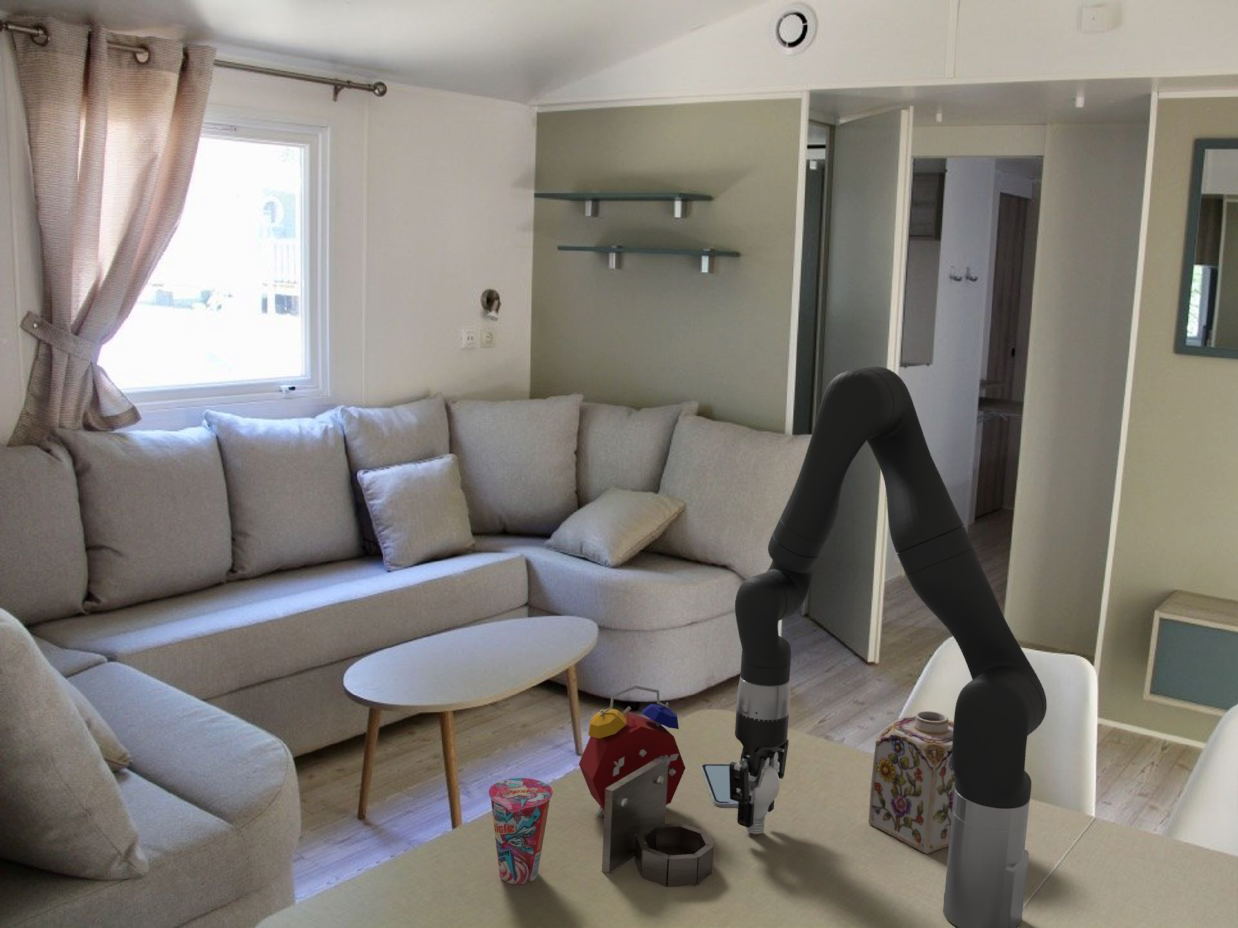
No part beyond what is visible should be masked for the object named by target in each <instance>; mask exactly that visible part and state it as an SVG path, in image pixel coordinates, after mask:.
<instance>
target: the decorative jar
mask: <svg viewBox="0 0 1238 928" xmlns="http://www.w3.org/2000/svg"><path fill="white" fill-rule="evenodd" d="M953 725H954V721H952V720H950V719H949V717H948V716H946V715H945V714H943V713H942V712H937V711H931V710H930V711H929V710H927V711H925V710H924V711H919V712H916V714H914V715H909V716H905V717H900V718H897V719H895V720H893V721H892V722H890V724H889V725H888V726H887V728H885V729H884V730H883V732H882V733H881V734H879V736H878V737H876V740H875V741H874V742H875V745H874V753H873V761H872V770H871V771H872V772H871V777H870V778H871V779H870V791H869V792H870V795H869V807H868V824H869V825H871V826H873V827H875V828H877V829H879V830H881V831H883V832H884V833H886V834H888V835H890V836H891V837H894V838H895V839H897V840H899V841H901V842H903V843H905V844H907V845H908V846H910V847H912V848H914V849H915V850H918V851H919V852H921V853H923V854H926V855H928V854H931V853H933V852H936V851H939V850H942V849H944V848H947V847H949V841H950V830H951V819H952V809H953V799H954V788H955V774H954V771H953V767H952V744H953Z"/></svg>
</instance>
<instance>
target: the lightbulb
mask: <svg viewBox="0 0 1238 928" xmlns="http://www.w3.org/2000/svg"><path fill="white" fill-rule="evenodd" d="M756 778H757V777H754V776H751V775H749V780H750V781H755V780H756ZM780 788H781V779H780V778H779V776H778V774H777V772H776V770H775V769H774V768H773V767H772V766H771V765H768V768H767V769H766V771H765V774H764V777H763V779H762V782H761V786H760V787H759V788H757V789H756V791H755V800H754V817H753V825H752V826H751V827H749V828H748V827H745V830H746V832H747V833H750V834H751V835H753V836H757V835H760V834H762V833H764V831H765V822H766V815H767V814H768V813H769V812H768V808H769V806H770V804H771V803H772V802H773V800H774V801H775V799H776V798H777V796H778V794H779V792H780ZM737 790H738V788H737ZM750 790H751V786H749V794H750Z"/></svg>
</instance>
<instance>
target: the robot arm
mask: <svg viewBox="0 0 1238 928" xmlns="http://www.w3.org/2000/svg"><path fill="white" fill-rule="evenodd" d="M866 442H867V444H868V446H869V447H870V449H871V451H872V454H873V455H874V458H875V460H876V462H877V464H878V466H879V469H880V471H881V474H882V477H883V481H884V486H885V493H886V507H887V510H886V511H887V519H888V520H887V521H888V528H889V535H890V538H891V541H892V546H893V547H894V550H895V552H896V555H897V557H898V560H899V562H900V564H901V566H902V570H903V572H904V574H905V575H906V578H907V580H908V581H909V583H910V585H911V587H912V590H914V592H915V593H916V595H917V596H918V597H919V599H920V600H921V601H922V603H923V604H924V605H925V606H926V607H927V608H928V609H929V611H931V613H933V615H934V616H935V617H936V618H937V619H938V620H940V622H941V623H942V624H943V626H945V627H946V629H947V630H948V631H949V633H950V634H951V635H952V636H953V638H954V640H955V642H956V644H957V646H958V647H959V649H960V652H961V655H963V658H964V660H965V663H966V666H967V668H968V670H969V674H970V676H971V680H970V681H969V682H968V683H967V684H966V685H965V686H964V687H962V689H961V690H960V692H959V694H958V696H957V698H956V699H957V700H956V702H955V708H954V713H953V714H954V715H953V722H954V725H953V744H952V767H953V771H954V774H955V788H954V799H953V809H952V819H951V830H950V841H949V846H948V852H947V854H948V855H947V865H946V875H945V884H944V893H943V909H942V912H943V914H944V917H945V918H946V919H947V921H948V922H950V923H951V924H952V925H954V926H955V927H957V928H1017V926H1019V924H1020V922H1021V921H1022V919H1023V911H1024V903H1025V901H1024V900H1025V893H1026V882H1027V875H1028V864H1029V855H1030V854H1029V853H1030V852H1029V851H1028V850H1026V849H1025V848H1026V839H1027V829H1028V820H1029V812H1030V811H1029V810H1030V801H1031V793H1032V779H1031V776H1030V775H1029V773H1028V772H1027V771H1026V769H1025V767H1026V757H1027V756H1026V755H1027V754H1026V753H1027V744H1028V737H1029V736H1030V734H1032V733H1033V732H1034V731H1036V730H1037V728H1039V727H1040V726H1041V724H1042V723H1043V721H1044V720H1045V716H1046V714H1047V709H1048V708H1047V696H1046V692H1045V689H1044V687H1043V685H1042V683H1041V680H1040V678H1039V676H1038V674H1037V673H1036V672H1035V670H1034V667H1032V664H1031V663H1030V661H1029V659H1028V658H1027V656H1026V654H1025V653H1024V651H1023V649H1022V647H1021V645H1020V644H1019V642H1018V641H1017V639H1016V637H1015V636H1014V633H1013V632H1012V630H1011V628H1010V625H1009V624H1008V622H1007V620H1006V618H1005V616H1004V614H1003V611H1002V610H1001V609H1002V608H1001V607H1000V605H999V603H998V600H997V598H996V595H995V593H994V591H993V588H992V586H991V584H990V582H989V580H988V577H987V575H986V573H985V571H984V569H983V567H982V564H981V562H980V559H979V557H978V554H977V552H976V549H975V547H974V545H973V542H972V540H971V539H970V536H969V534H968V532H967V530H966V527H965V525H964V523H963V521H962V519H961V517H960V515H959V513H958V511H957V509H956V507H955V505H954V502H953V500H952V498H951V496H950V494H949V491H948V489H947V486H946V485H945V482H944V481H943V477H942V476H941V474H940V472H939V469H938V468H937V466H936V463H935V461H934V459H933V457H932V454H931V452H930V449H929V446H928V444H927V441H926V438H925V435H924V432H923V429H922V426H921V423H920V419H919V417H918V414H917V411H916V408H915V405H914V402H913V398H912V396H911V393H910V391H909V389H908V386H907V385H906V383H905V382H904V381H903V379H902V378H901V376H899V375H898V374H897V373H896V372H894V371H893V370H891V369H889V368H887V367H881V366H869V367H862V368H853V369H850V370H846V371H844V372H841V373H839V374H837V375H836V376H834V378H832V380H830V382H829V383H828V385H827V386H826V389H825V391H824V393H823V396H822V399H821V402H820V404H819V408H818V412H817V417H816V420H815V424H814V426H813V430H812V434H811V437H810V440H809V442H808V443H809V444H808V446H807V447H808V448H807V450H806V453H805V456H804V459H803V463H802V466H801V469H800V470H799V471H800V472H799V474H798V477H797V480H796V482H795V483H794V487H793V489H792V492H791V494H790V496H789V499H788V501H787V502H786V505H785V507H784V509H783V511H782V513H781V515H780V517H779V519H778V521H777V523H776V526H775V528H774V530H773V532H772V534H771V536H770V539H769V541H768V545H767V552H768V555H769V557H770V558H771V564H770V566H769V568H767V570H766V572H763V573H759V574H757V575H753V576H750V577H748V578H746V579H745V580H744V581H743V582H742V583H741V585H739V588H738V590H737V592H736V596H735V602H734V612H735V613H734V614H735V621H736V627H737V630H738V637H739V641H740V645H741V657H740V660H741V661H740V676H739V681H738V687H737V695H736V696H737V697H736V710H735V711H736V712H735V724H734V725H735V727H734V736H735V738H736V740H738V741H739V742H740V743H741V744H742V749H741V750H742V751H741V754H740V760H739V761H738V762H735V761H731V762H730V763H729V764H730V766H729V778H730V799H731V800H734V801H737V802H738V807H737V819H736V821H737V824H738V825H739V826H742V827H745V828H746V827H748V828H749V827H751V826H752V825H753V817H754V800H755V791H756V789H757V788H759V787H760V786H761V782H762V779H763V777H764V774H765V771H766V769H767V768H768V765H771V766H772V767H773V768H774V769H775V770H776V772H777V774H778V776H779V779H780V780H783V779H784V776H785V771H786V765H787V764H786V763H787V757H788V749H789V743H790V742H789V740H788V734H789V733H788V731H789V730H788V729H789V717H790V705H791V704H790V703H791V702H790V701H791V689H790V688H791V686H790V680H791V679H790V677H791V665H792V664H791V663H792V662H791V661H792V649H791V644H790V643H789V641H788V640H787V639H785V638H784V637H782V636H780V634H779V621H782V620H784V619H787V618H789V617H790V618H791V616H793V615H794V614H796V613H797V612H798V611H799V610H800V609H801V607H803V604H804V602H805V601H806V599H807V596H808V593H809V590H810V588H811V587H810V586H811V583H812V578H813V575H814V569H815V563H816V561H817V560H818V558H819V557H820V554H821V552H823V551H822V550H823V548H824V547H825V545H826V542H827V540H828V538H830V537H829V536H830V534H831V532H832V530H833V528H834V525H835V523H836V519H837V516H838V511H839V506H840V498H841V491H842V488H843V483H844V480H845V477H846V475H847V473H848V470H849V468H850V466H851V464H852V462H853V460H854V459H855V457H856V456H857V455H858V453H859V451H860V450H861V449H862V447H863V446H864V444H866ZM749 775H751V776H754V777H757V778H756V780H755V781H750V780H749ZM749 786H751V790H750V794H749ZM737 788H738V790H737ZM774 809H775V799H774V800H773V802H772V803H771V804H770V806H769V808H768V812H767V813H770V812H772V811H773V810H774Z"/></svg>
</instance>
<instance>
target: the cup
mask: <svg viewBox="0 0 1238 928" xmlns="http://www.w3.org/2000/svg"><path fill="white" fill-rule="evenodd" d="M553 791H554V790H553V789H552V787H551V786H550V785H549V784H548V783H546V782H543V781H542V780H539V779H535V778H527V777H514V778H505V779H503V780H500V781H498V782H496V783H494V784H493V785H491V786H490V788H489V790H488V797H489V799H490V801H491V802H490V803H491V811H492V818H493V819H492V820H493V828H494V829H493V830H494V839H495V846H496V847H495V848H496V854H497V856H496V857H497V864H498V871H499V872H498V873H499V874H498V875H499V878H500V879H501V880H503V881H504V883H505V882H506V883H508V884H513V885H523V884H524V885H525V884H529V883H531V882H534V881H535V879H537V878H538V875H539V868H540V862H541V855H542V851H543V844H544V837H545V833H546V832H545V831H546V826H547V819H548V814H549V813H548V812H549V807H550V801H551V798H552V797H553Z"/></svg>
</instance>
